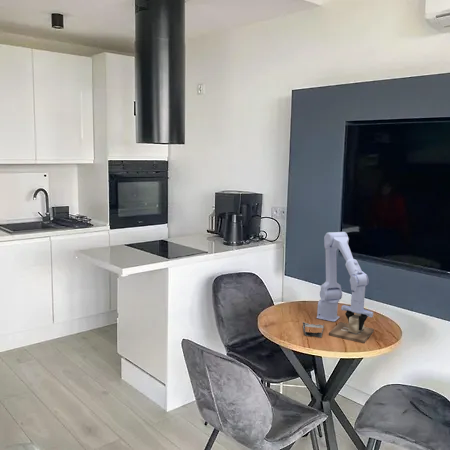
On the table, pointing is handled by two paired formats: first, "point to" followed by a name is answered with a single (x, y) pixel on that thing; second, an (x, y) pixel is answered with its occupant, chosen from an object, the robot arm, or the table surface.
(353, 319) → the block
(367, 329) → the walnut board
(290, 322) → the table surface
